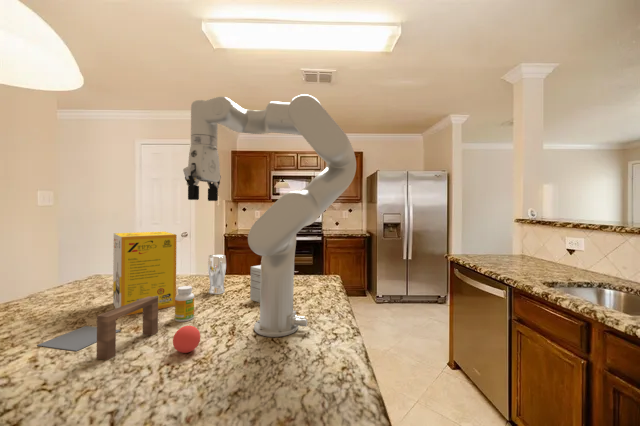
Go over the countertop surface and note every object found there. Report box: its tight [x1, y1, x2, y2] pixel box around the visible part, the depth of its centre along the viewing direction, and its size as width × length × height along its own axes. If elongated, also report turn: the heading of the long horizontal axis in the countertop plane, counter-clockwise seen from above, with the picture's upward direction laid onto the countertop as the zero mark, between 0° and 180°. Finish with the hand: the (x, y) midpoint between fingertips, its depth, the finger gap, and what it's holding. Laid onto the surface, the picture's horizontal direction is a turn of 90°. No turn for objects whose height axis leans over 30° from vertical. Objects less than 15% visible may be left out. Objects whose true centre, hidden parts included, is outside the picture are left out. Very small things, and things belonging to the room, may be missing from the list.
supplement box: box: [249, 264, 261, 304], centre depth 110 cm, size 7×7×13 cm
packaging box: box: [112, 231, 178, 317], centre depth 102 cm, size 16×16×25 cm
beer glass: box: [207, 253, 227, 295], centre depth 119 cm, size 7×7×15 cm
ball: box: [172, 325, 201, 354], centre depth 70 cm, size 6×6×6 cm
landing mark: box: [36, 325, 121, 352], centre depth 76 cm, size 12×12×1 cm
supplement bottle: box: [174, 285, 195, 322], centre depth 90 cm, size 5×5×10 cm
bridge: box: [96, 296, 159, 361], centre depth 73 cm, size 3×15×10 cm, turn 168°
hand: (203, 200), depth 88 cm, fingers open, 9 cm apart
